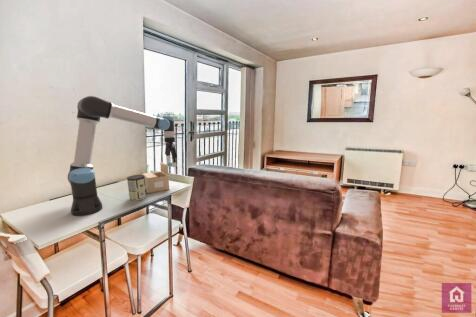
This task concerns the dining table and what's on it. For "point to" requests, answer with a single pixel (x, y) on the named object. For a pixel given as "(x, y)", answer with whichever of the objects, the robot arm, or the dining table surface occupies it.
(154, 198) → the dining table surface
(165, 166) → the flap
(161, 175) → the carton
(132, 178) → the coffee can
